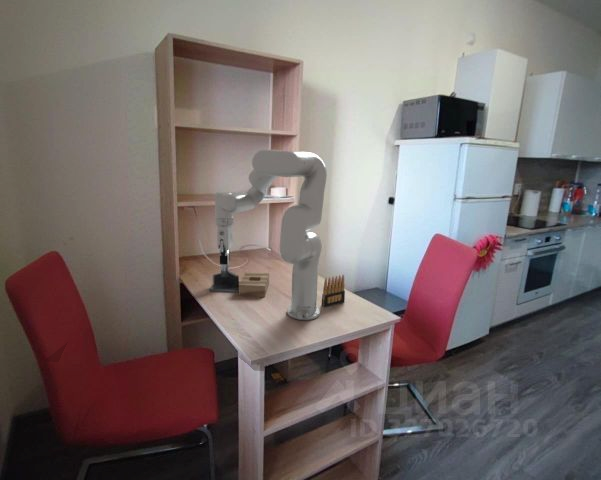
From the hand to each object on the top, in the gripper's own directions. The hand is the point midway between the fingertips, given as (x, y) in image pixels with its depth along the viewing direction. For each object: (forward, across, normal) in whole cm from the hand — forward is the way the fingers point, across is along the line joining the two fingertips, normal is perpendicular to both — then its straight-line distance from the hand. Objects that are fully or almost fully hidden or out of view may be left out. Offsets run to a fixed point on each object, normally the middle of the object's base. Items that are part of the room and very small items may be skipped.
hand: (224, 262), depth 155 cm
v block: (+12, +1, 0) cm, 12 cm away
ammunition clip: (+12, -12, -47) cm, 50 cm away
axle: (+6, 0, 0) cm, 6 cm away
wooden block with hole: (+12, 0, -13) cm, 18 cm away
